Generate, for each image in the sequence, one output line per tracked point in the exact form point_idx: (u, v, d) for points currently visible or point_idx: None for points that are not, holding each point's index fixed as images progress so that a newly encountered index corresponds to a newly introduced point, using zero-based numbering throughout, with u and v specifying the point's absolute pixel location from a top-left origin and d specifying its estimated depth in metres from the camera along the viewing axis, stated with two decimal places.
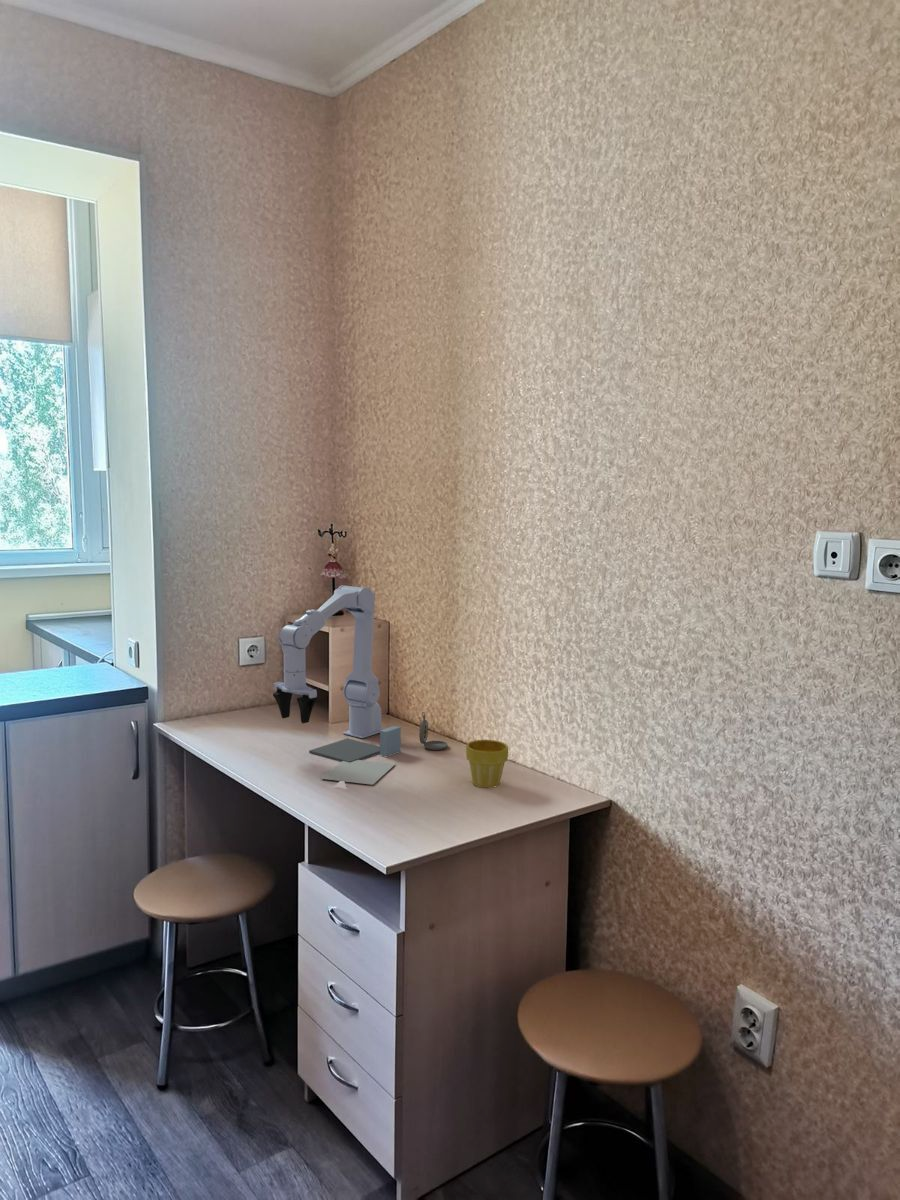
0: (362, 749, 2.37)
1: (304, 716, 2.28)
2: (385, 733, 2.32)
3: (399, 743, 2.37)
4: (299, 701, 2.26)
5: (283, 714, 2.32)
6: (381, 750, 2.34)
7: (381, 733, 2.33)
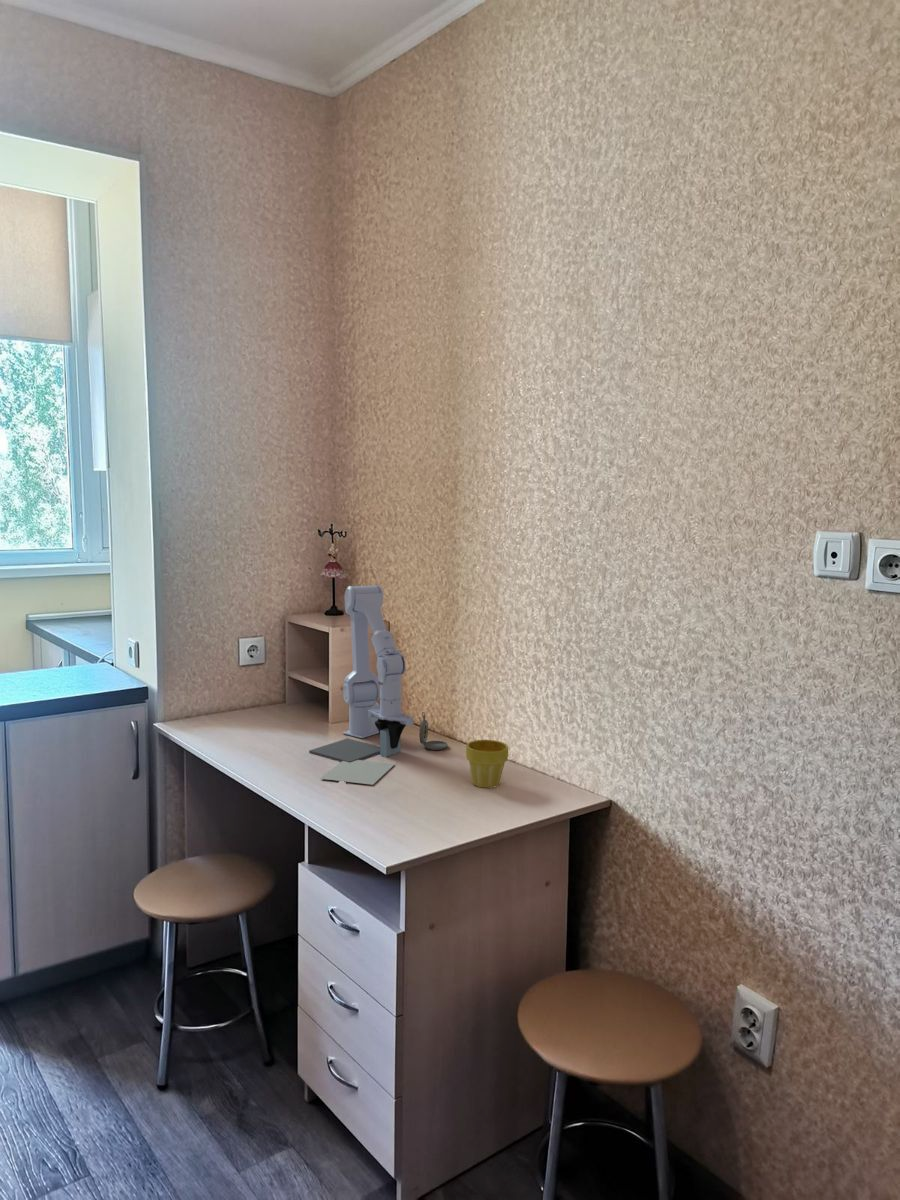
0: (362, 749, 2.37)
1: (393, 741, 2.34)
2: (385, 733, 2.32)
3: (399, 743, 2.37)
4: (389, 727, 2.32)
5: None
6: (381, 750, 2.34)
7: (381, 733, 2.33)
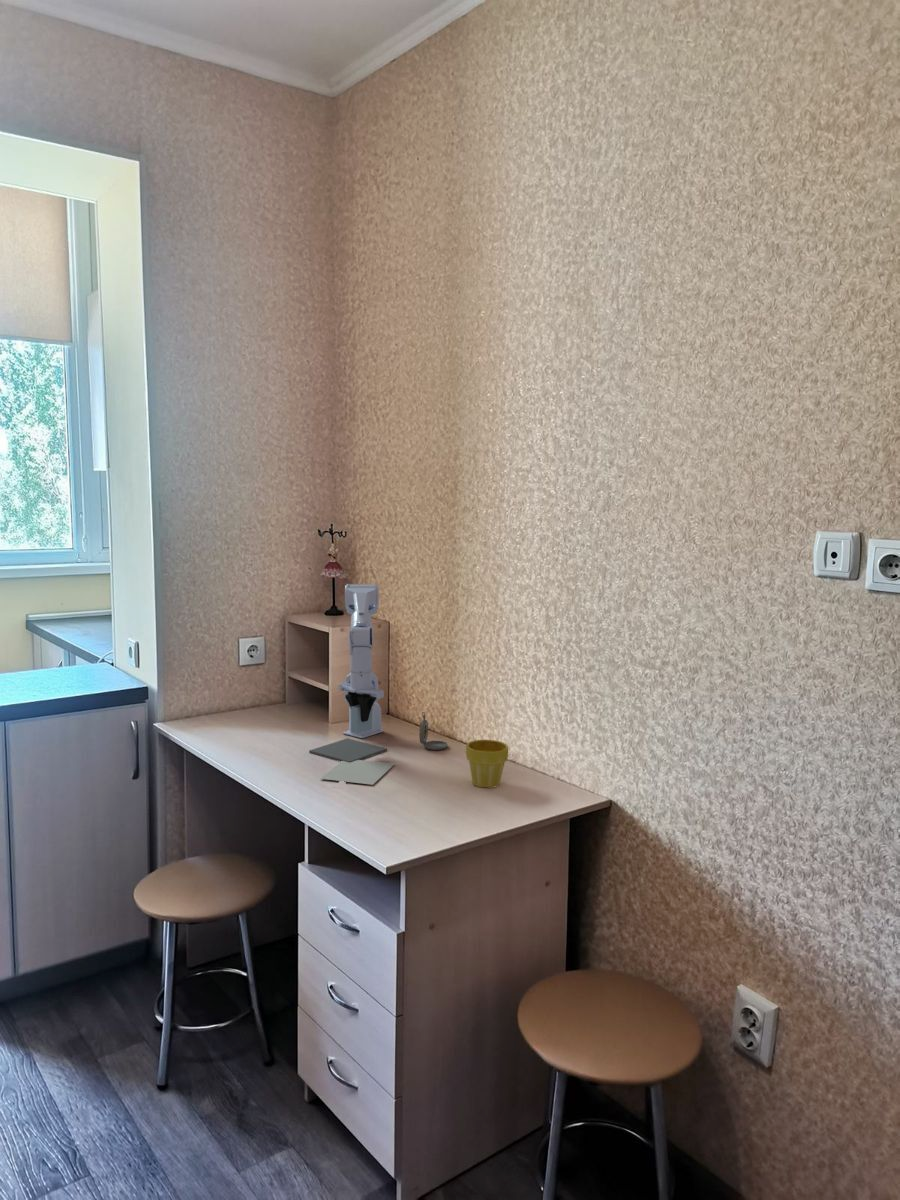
0: (362, 749, 2.37)
1: (364, 715, 2.32)
2: (356, 709, 2.31)
3: (370, 720, 2.36)
4: (360, 700, 2.30)
5: None
6: (352, 726, 2.33)
7: (352, 709, 2.32)
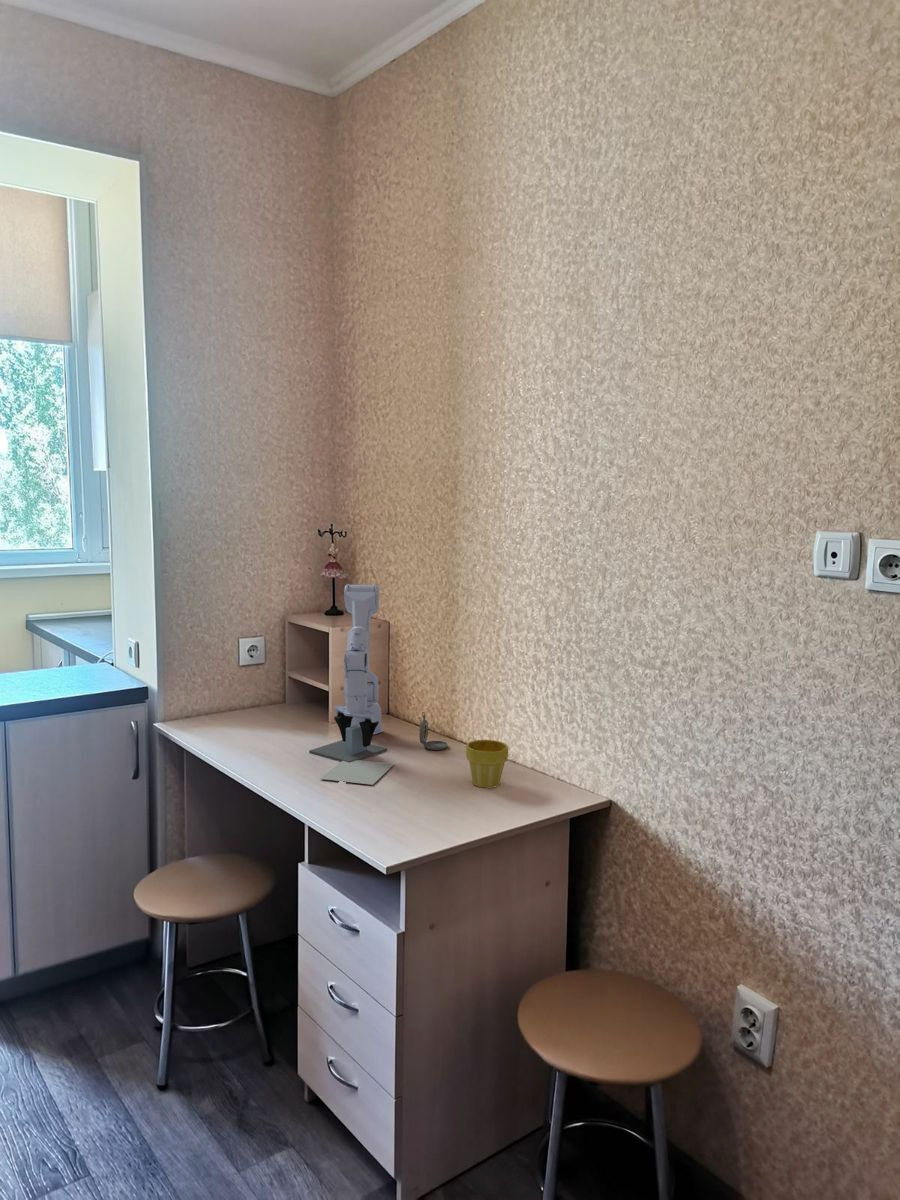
0: None
1: (366, 740, 2.32)
2: (351, 731, 2.32)
3: None
4: (362, 725, 2.29)
5: (344, 737, 2.36)
6: (347, 748, 2.33)
7: (347, 731, 2.32)
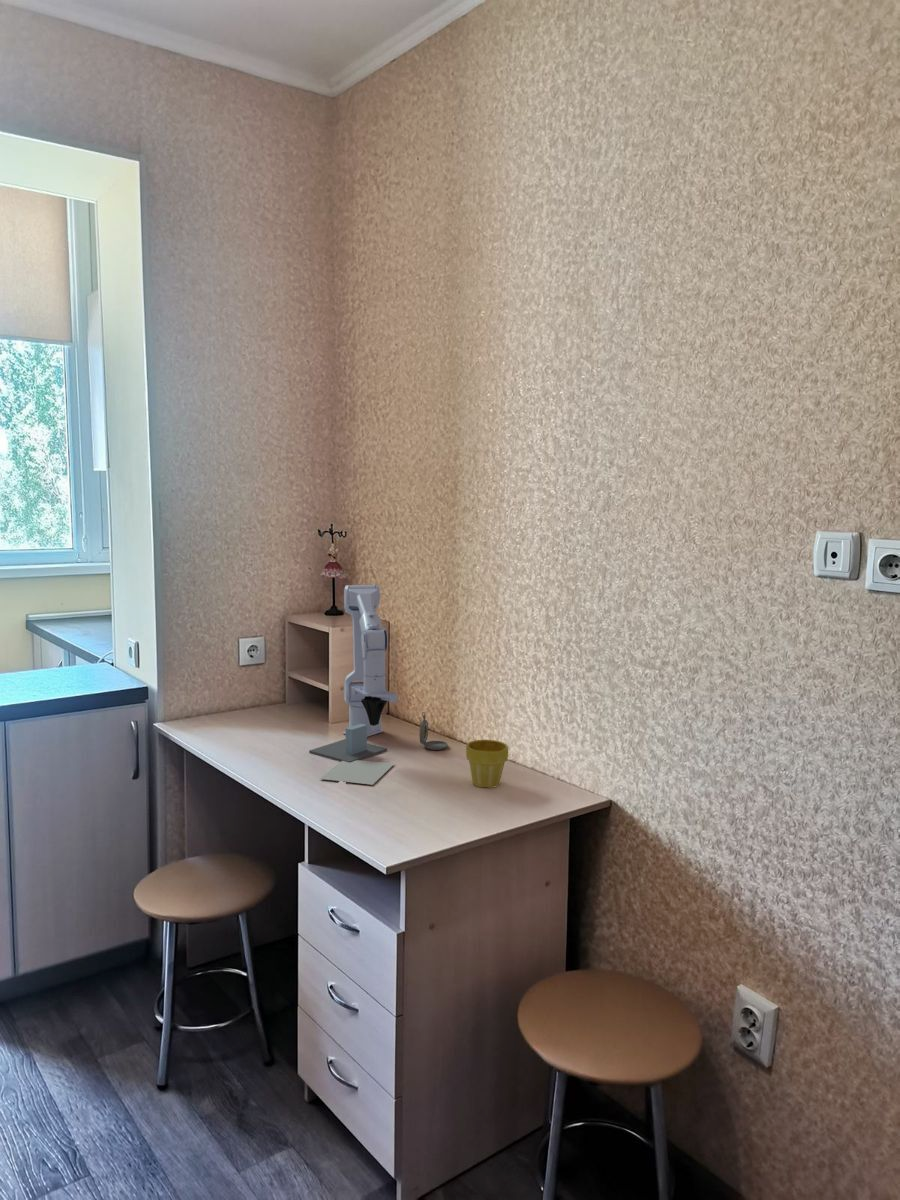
0: None
1: (374, 718, 2.29)
2: (351, 731, 2.32)
3: (365, 741, 2.36)
4: (370, 703, 2.27)
5: None
6: (347, 748, 2.33)
7: (347, 731, 2.32)
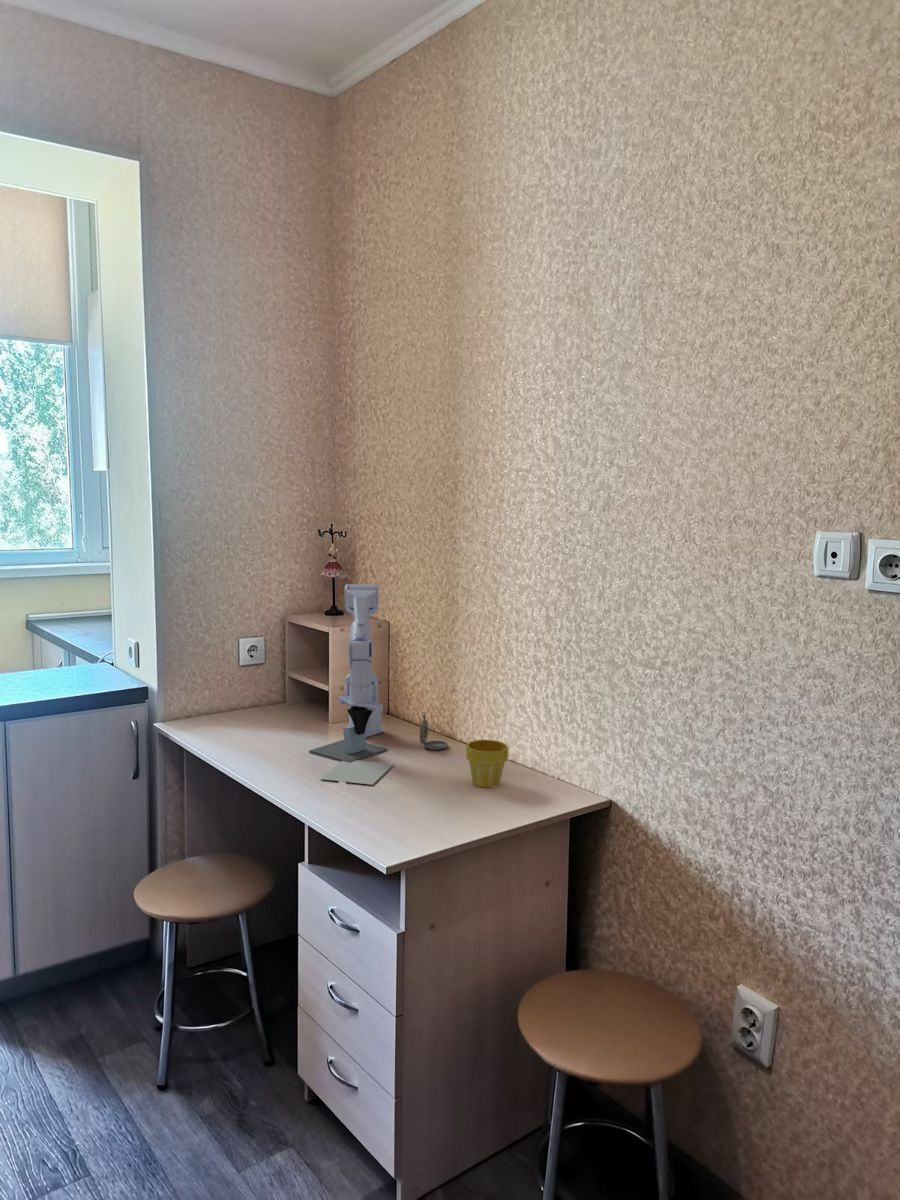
0: None
1: (360, 728, 2.33)
2: (348, 729, 2.32)
3: (364, 740, 2.37)
4: (356, 713, 2.30)
5: None
6: (346, 747, 2.33)
7: (345, 730, 2.33)
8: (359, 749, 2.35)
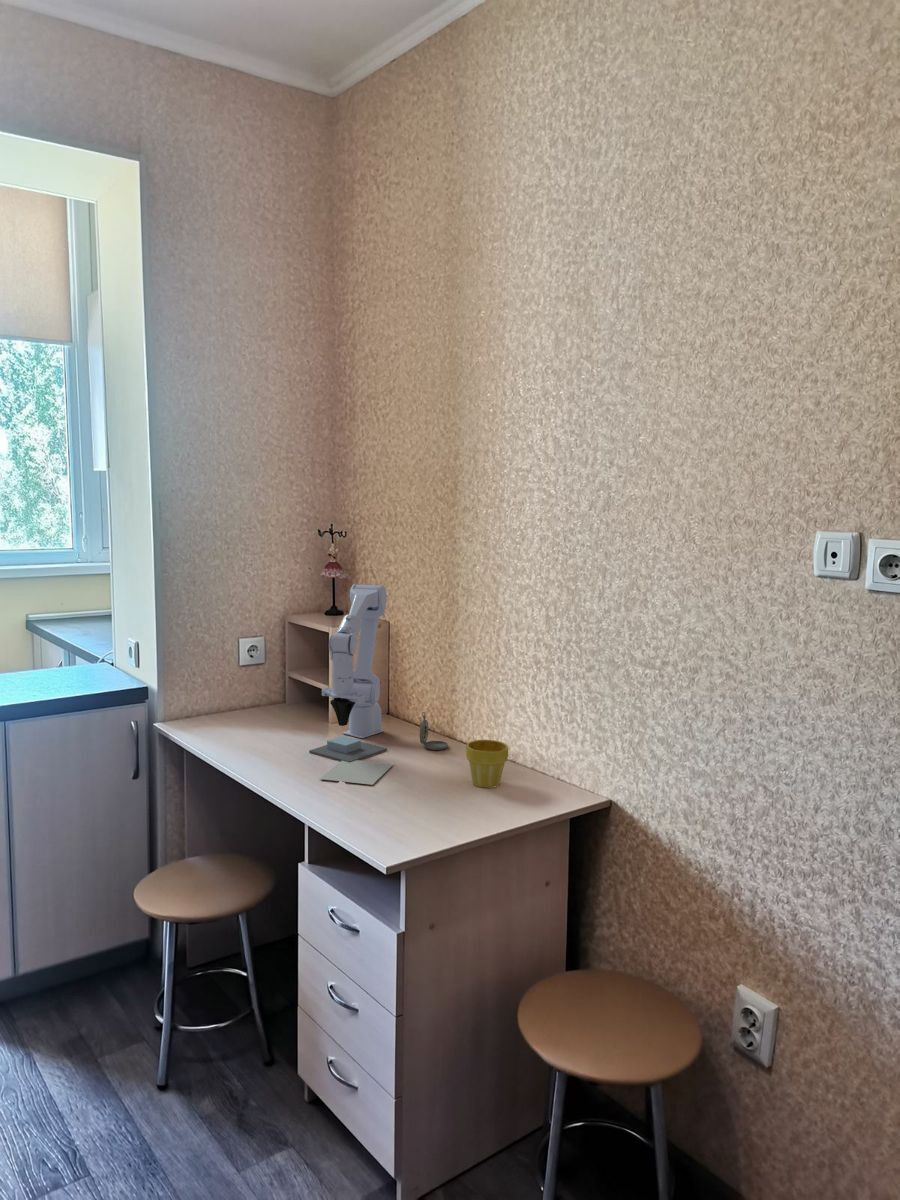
0: (362, 749, 2.37)
1: (343, 719, 2.36)
2: (328, 741, 2.37)
3: (353, 739, 2.39)
4: (339, 704, 2.34)
5: None
6: (341, 750, 2.34)
7: (328, 746, 2.37)
8: (352, 742, 2.36)
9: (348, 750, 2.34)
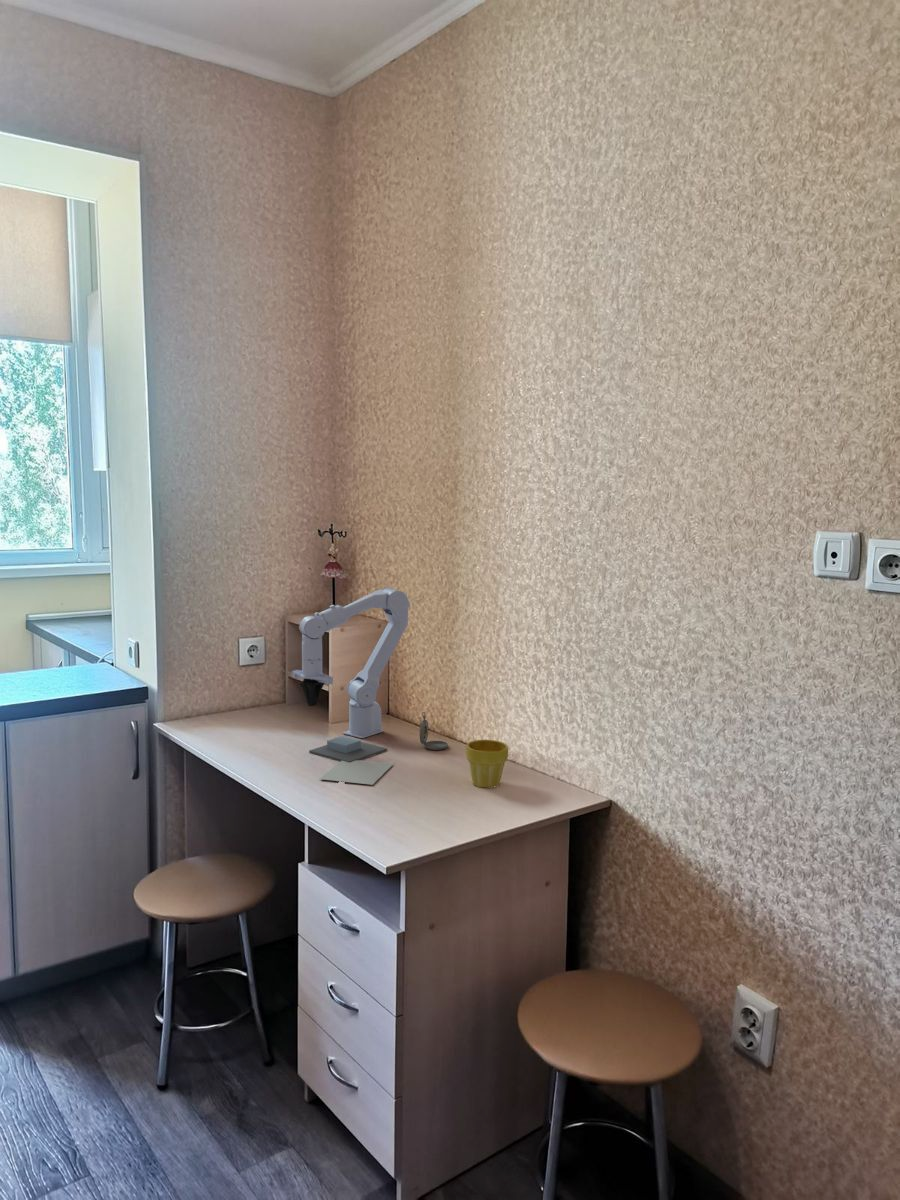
0: (362, 749, 2.37)
1: (312, 699, 2.46)
2: (328, 741, 2.37)
3: (353, 739, 2.39)
4: (308, 685, 2.44)
5: None
6: (341, 750, 2.34)
7: (328, 746, 2.37)
8: (352, 742, 2.36)
9: (348, 750, 2.34)
